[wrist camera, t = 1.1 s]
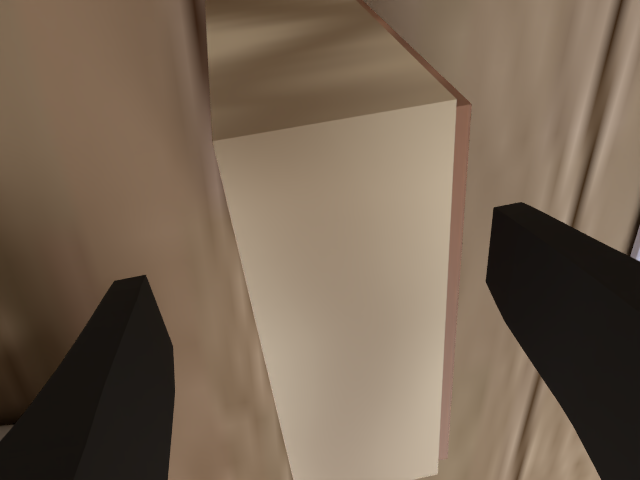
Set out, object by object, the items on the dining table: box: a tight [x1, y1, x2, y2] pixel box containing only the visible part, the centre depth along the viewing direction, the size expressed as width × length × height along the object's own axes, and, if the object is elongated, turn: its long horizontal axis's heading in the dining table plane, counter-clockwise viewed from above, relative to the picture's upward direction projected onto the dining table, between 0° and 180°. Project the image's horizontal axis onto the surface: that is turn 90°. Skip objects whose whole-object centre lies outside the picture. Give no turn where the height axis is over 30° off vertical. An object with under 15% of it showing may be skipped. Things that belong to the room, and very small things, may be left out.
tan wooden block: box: [205, 0, 472, 480], centre depth 13 cm, size 4×9×8 cm, turn 5°
